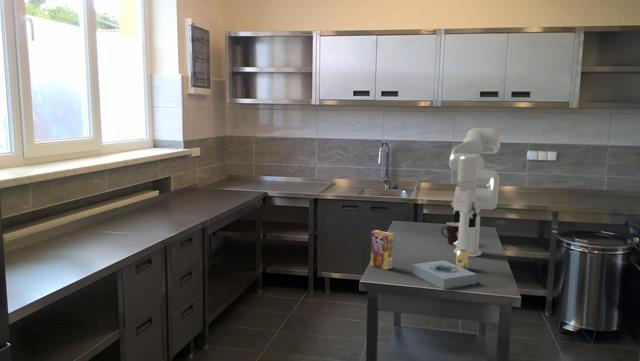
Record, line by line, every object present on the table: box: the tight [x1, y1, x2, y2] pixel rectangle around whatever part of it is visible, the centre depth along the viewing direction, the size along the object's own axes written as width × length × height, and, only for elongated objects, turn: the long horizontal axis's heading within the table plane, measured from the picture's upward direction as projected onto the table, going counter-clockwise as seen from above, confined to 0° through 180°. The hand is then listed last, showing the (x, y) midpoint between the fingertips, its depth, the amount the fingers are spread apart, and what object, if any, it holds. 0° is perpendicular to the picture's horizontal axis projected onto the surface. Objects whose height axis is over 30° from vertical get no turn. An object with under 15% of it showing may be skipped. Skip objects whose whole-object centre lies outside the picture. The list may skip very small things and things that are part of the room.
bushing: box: [455, 249, 469, 270], centre depth 226 cm, size 5×5×8 cm
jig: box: [412, 259, 478, 290], centre depth 213 cm, size 20×16×4 cm
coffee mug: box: [440, 221, 459, 246], centre depth 269 cm, size 12×9×10 cm
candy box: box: [370, 229, 395, 270], centre depth 226 cm, size 9×4×15 cm, turn 47°
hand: (464, 224), depth 224 cm, fingers open, 9 cm apart
